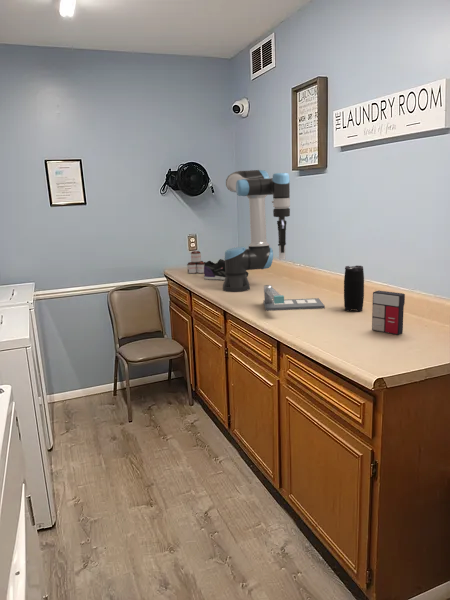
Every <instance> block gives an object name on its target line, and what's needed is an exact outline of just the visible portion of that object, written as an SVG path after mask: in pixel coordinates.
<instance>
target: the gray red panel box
mask: <svg viewBox="0 0 450 600" xmlns="http://www.w3.org/2000/svg"><path fill="white" fill-rule="evenodd" d="M405 298H406V294H405V293H403V292H402V293H401V292H393V291H387V290H386V291H385V290H376V291H373V292H372V309H371V311H372V314H371V317H372V318H371V330H372V331H373V332H374V331H375V332H381V333H386V334H392V335H396V336H399V335H401V334H403V332H404V309H405V308H404V307H405V304H406V303H405Z"/></svg>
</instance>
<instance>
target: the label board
mask: <svg viewBox="0 0 450 600" xmlns="http://www.w3.org/2000/svg"><path fill="white" fill-rule="evenodd" d="M263 293H264V292H263ZM263 296H264V297H263V298H264V299H263V306H264V310H265V311H266V310H267V311H288V310H318V309H325V308H326V307H325V304H324V303H323V301H322V300H320V298H319V297H317V298H313V297H312V298H293V299H291V298H290V299H289V298H287V299H284V303H279V304H275V303H274V300H273V299H272V298H271V297H270V296H269V295H268V294H267V293H264V295H263Z"/></svg>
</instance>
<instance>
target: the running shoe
mask: <svg viewBox="0 0 450 600" xmlns="http://www.w3.org/2000/svg"><path fill="white" fill-rule="evenodd" d="M205 262H206V263H205V264H204V274H203V279H204V280H205V281H206V280H207V281H224V280H225V277H226V272H225V259H222V258H220V259H218V261H217V262H216V263H215V262H213V261H211V260H208V261H205ZM246 276H247V278H248V277H249V272H248V270H246Z"/></svg>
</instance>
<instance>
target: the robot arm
mask: <svg viewBox="0 0 450 600" xmlns="http://www.w3.org/2000/svg"><path fill="white" fill-rule="evenodd" d="M290 182H291V181H290V174H289V173H288V172H276V173H275V172H274V173H272V177H270V176H269V173H268V171H266V170H262V169H257V170H256V169H254V170H253V169H251V170H237V171H234V172H232V173H230V174H229V175H228V176H227V177H226V179H225V186H226V188H227V190H229V191H230V192H231V193H236V195H237V196H239V197H246V198H247V199H248V201H249V202H248V203H249V204H248V205H249V226H250V244H249V245H248V248H246V246H237V247H232V248H228V249H226V250H225V252H224V260H225V272H226V277H225V280H223V284H222V290H223V291H225V292H228V293H229V292H233V293H235V292H236V293H237V292H246V291H248V290H250V288H251V285H250V282H249V280H248V277H247V276H246V271H252V270H264V269H269V268H270V267H271V266H272V264H273V259H274V250H273V248H272V247H270V244H269V243H268V242H267V224H266V223H267V222H266V221H267V220H266V197H267V196H270V195H271V196H272V198H273V199H272V201H271V204H272V205H273V209H272V212H273V214H272V215H273V217H274V218H278V220H277V221H276V224H277V231H278V232H277V234H278V241H277V242H278V244H277V246H278V257H279V258H278V259H279V260H280V261H281V260H286V245H287V242H286V241H287V240H286V239H287V237H286V235H287V233H286V232H287V231H286V230H287V220H286V217H287V218H288V217H290V216H291V208H290V206H291V198H290V196H291V195H290V184H291V183H290Z"/></svg>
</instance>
